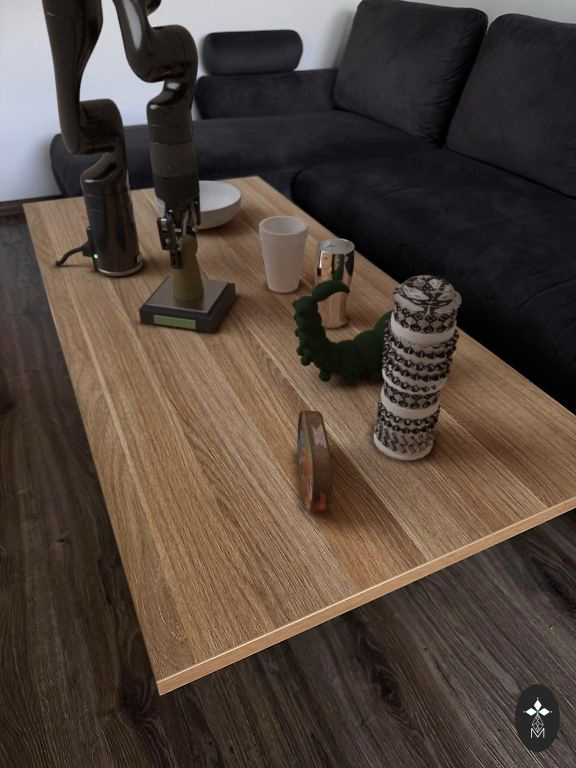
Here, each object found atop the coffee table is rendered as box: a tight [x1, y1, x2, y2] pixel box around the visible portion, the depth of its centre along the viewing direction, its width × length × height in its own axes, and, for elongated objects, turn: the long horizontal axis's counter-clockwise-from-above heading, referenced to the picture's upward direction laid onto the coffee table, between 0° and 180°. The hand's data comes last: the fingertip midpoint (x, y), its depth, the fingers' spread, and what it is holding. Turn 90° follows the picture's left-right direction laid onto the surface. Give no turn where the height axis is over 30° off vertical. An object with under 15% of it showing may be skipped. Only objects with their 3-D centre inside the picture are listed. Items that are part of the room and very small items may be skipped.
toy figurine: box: [291, 280, 394, 386], centre depth 93 cm, size 9×19×25 cm
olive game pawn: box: [172, 234, 204, 300], centre depth 108 cm, size 6×6×11 cm
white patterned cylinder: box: [373, 274, 463, 461], centre depth 78 cm, size 9×9×25 cm
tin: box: [296, 409, 334, 513], centre depth 76 cm, size 15×3×8 cm, turn 5°
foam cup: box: [258, 215, 309, 294], centre depth 118 cm, size 10×9×13 cm
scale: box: [138, 274, 237, 334], centre depth 113 cm, size 14×14×3 cm
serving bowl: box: [154, 180, 243, 230], centre depth 146 cm, size 21×21×7 cm
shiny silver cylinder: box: [313, 237, 355, 329], centre depth 107 cm, size 7×7×15 cm
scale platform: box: [146, 274, 230, 316], centre depth 112 cm, size 12×12×1 cm
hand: (184, 259), depth 108 cm, fingers open, 6 cm apart
